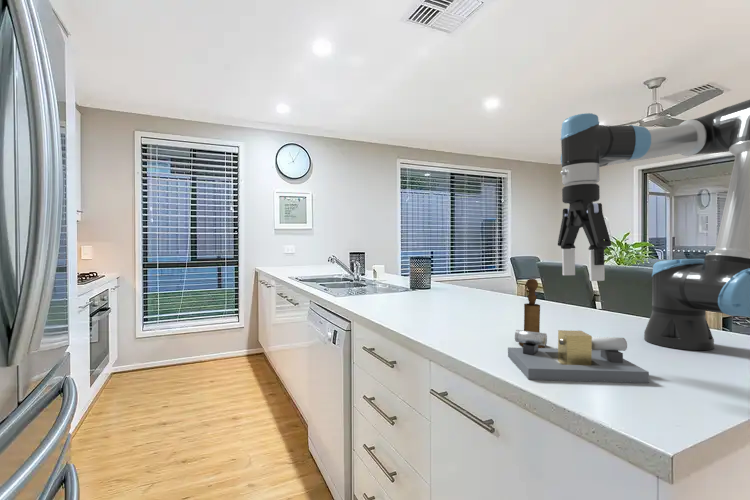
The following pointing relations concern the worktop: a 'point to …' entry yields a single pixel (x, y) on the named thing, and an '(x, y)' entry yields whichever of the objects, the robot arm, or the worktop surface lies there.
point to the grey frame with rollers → (602, 369)
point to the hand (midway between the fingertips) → (581, 277)
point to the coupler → (574, 347)
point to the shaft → (530, 340)
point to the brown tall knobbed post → (532, 310)
